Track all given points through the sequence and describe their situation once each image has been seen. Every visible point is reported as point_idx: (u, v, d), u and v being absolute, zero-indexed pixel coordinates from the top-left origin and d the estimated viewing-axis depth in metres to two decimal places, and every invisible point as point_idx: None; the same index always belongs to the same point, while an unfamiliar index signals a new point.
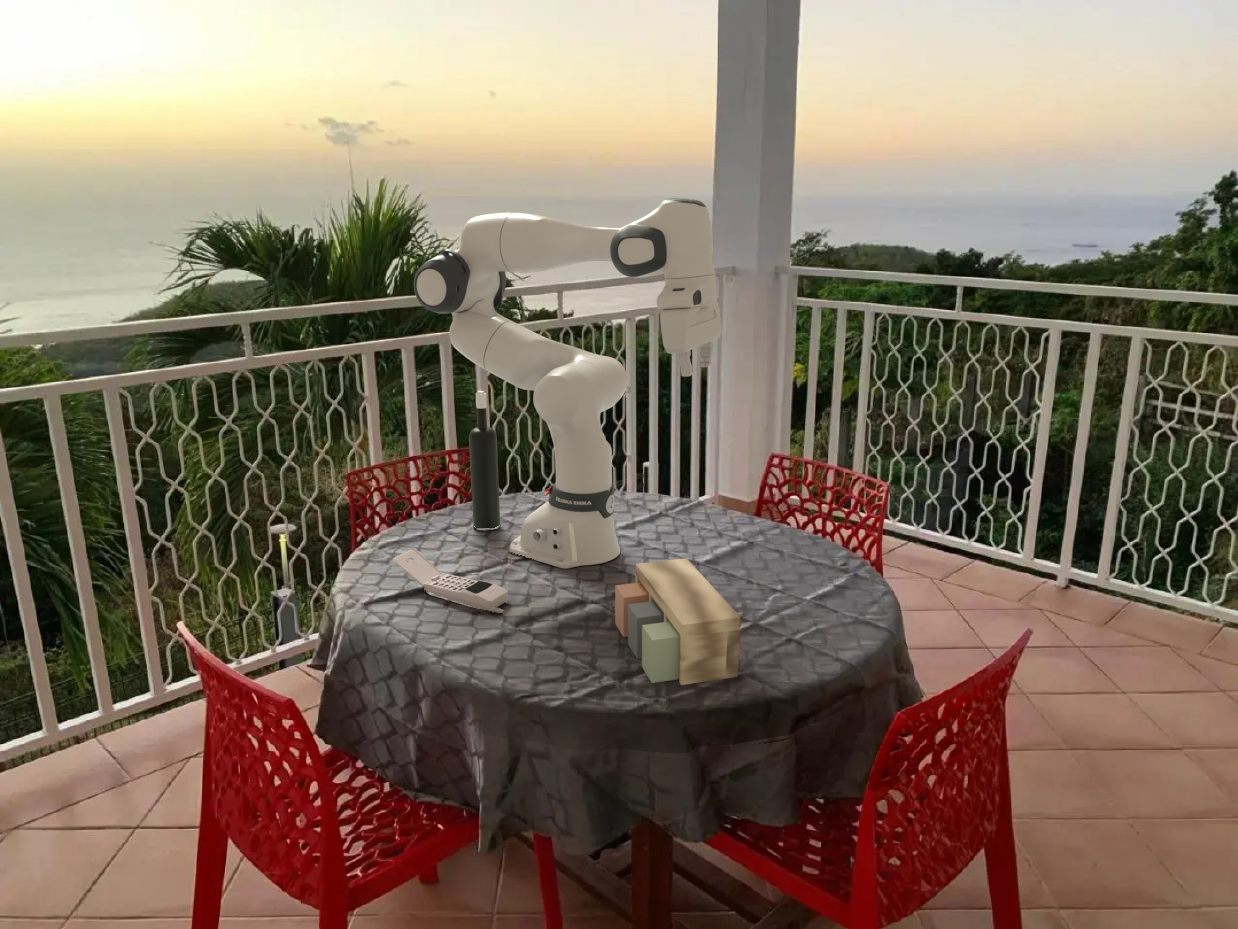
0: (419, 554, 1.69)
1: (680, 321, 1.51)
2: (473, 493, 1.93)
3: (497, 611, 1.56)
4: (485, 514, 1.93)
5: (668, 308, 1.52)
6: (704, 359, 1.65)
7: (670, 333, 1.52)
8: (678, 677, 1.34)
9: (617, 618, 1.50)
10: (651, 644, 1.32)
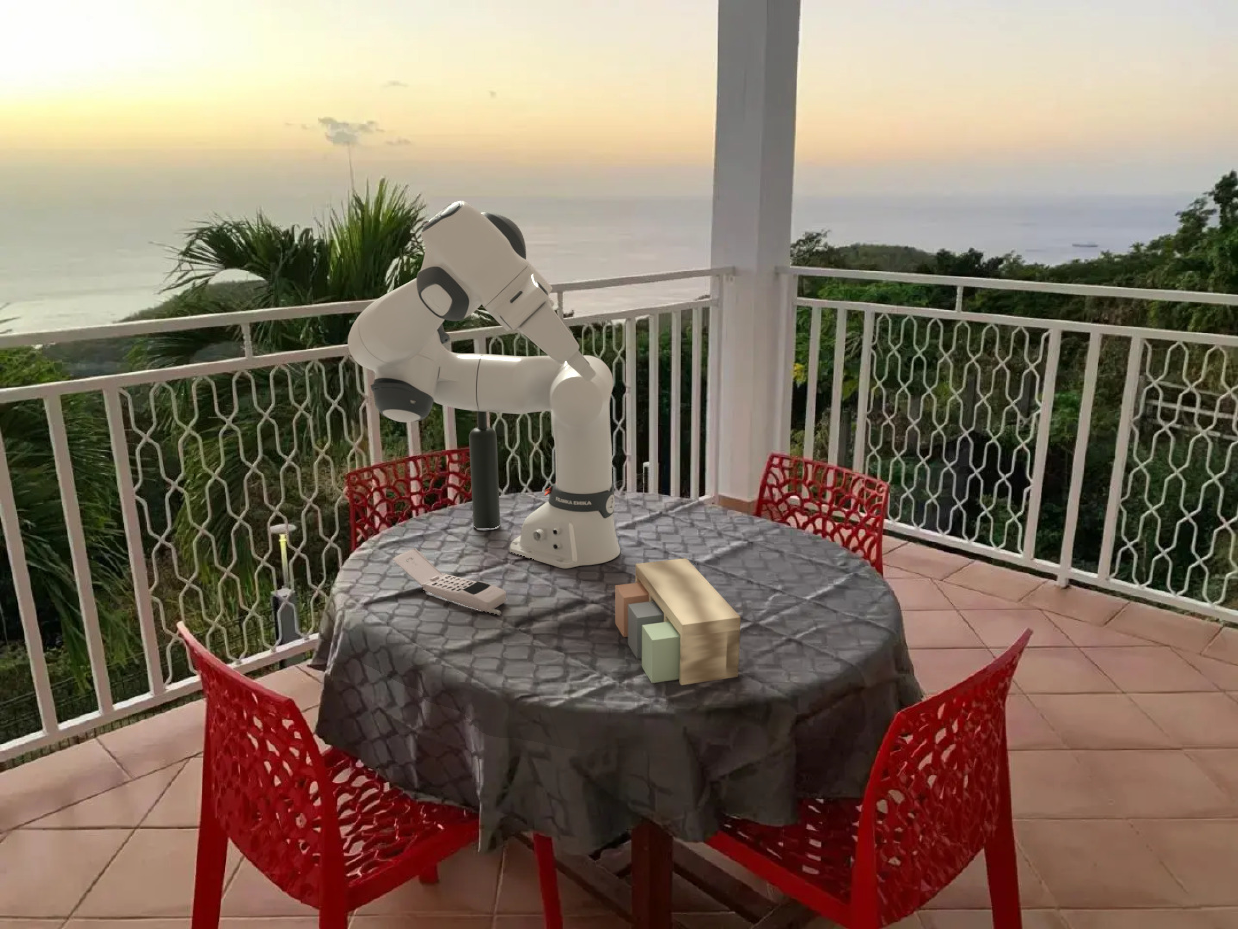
0: (419, 554, 1.69)
1: (550, 319, 1.17)
2: (473, 493, 1.93)
3: (494, 612, 1.55)
4: (485, 514, 1.93)
5: (525, 319, 1.18)
6: None
7: (551, 340, 1.18)
8: (678, 677, 1.34)
9: (617, 618, 1.50)
10: (651, 644, 1.32)
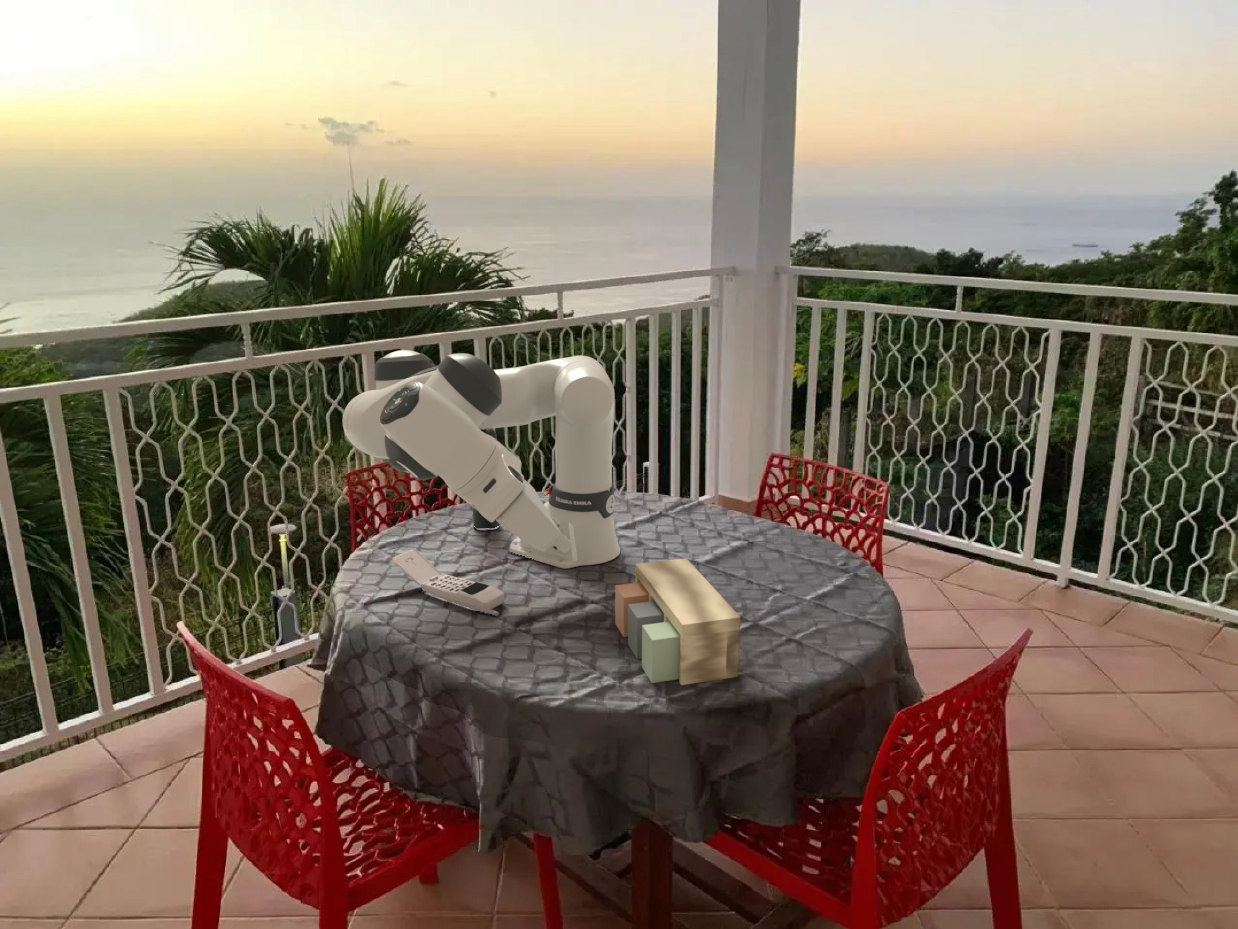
0: (419, 554, 1.69)
1: (530, 510, 1.13)
2: None
3: (492, 613, 1.55)
4: None
5: (503, 511, 1.13)
6: None
7: (532, 531, 1.13)
8: (678, 677, 1.34)
9: (617, 618, 1.50)
10: (651, 644, 1.32)
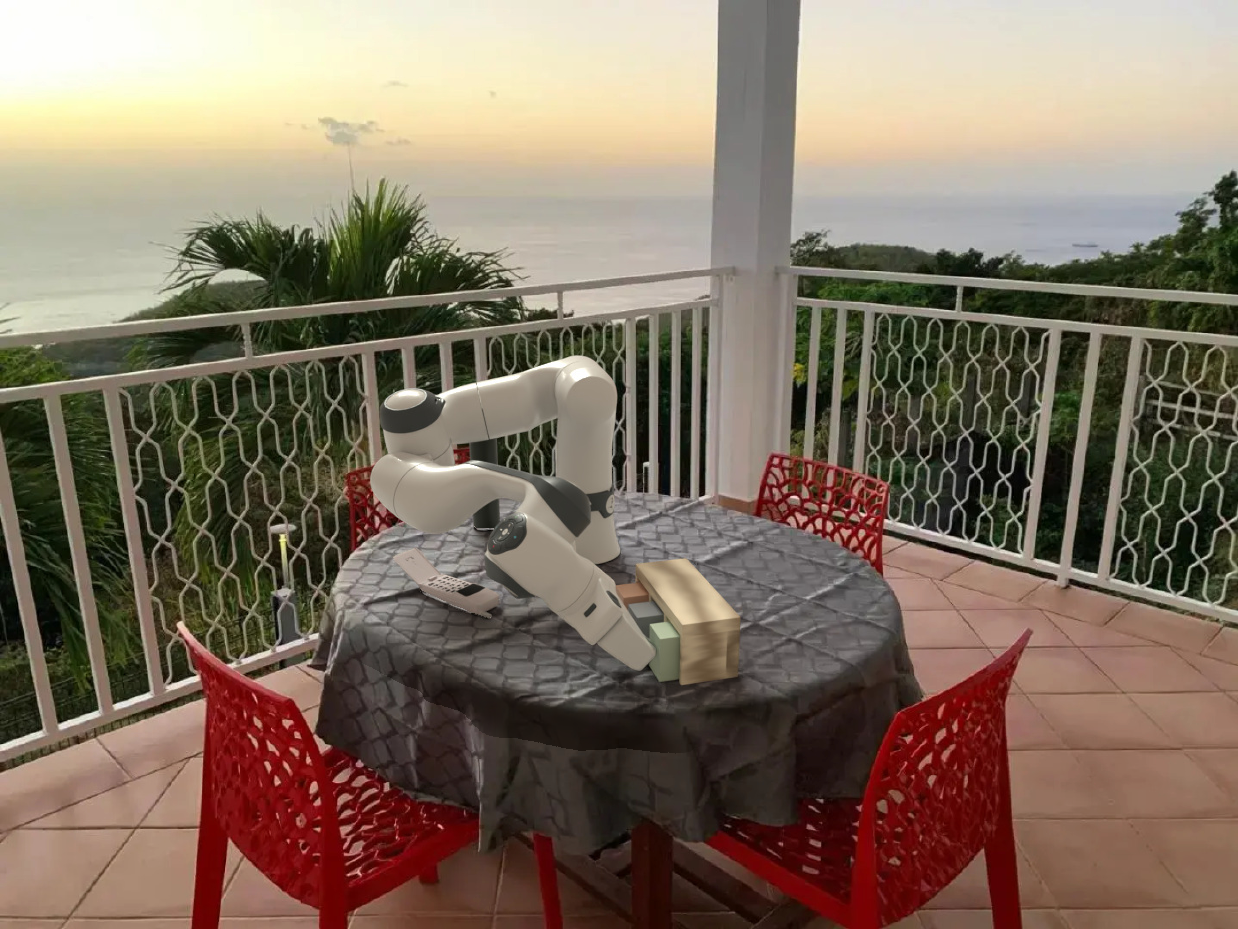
0: (420, 553, 1.70)
1: (629, 635, 1.22)
2: None
3: (485, 615, 1.54)
4: (485, 514, 1.93)
5: (603, 635, 1.22)
6: None
7: (630, 653, 1.22)
8: None
9: None
10: (659, 643, 1.32)
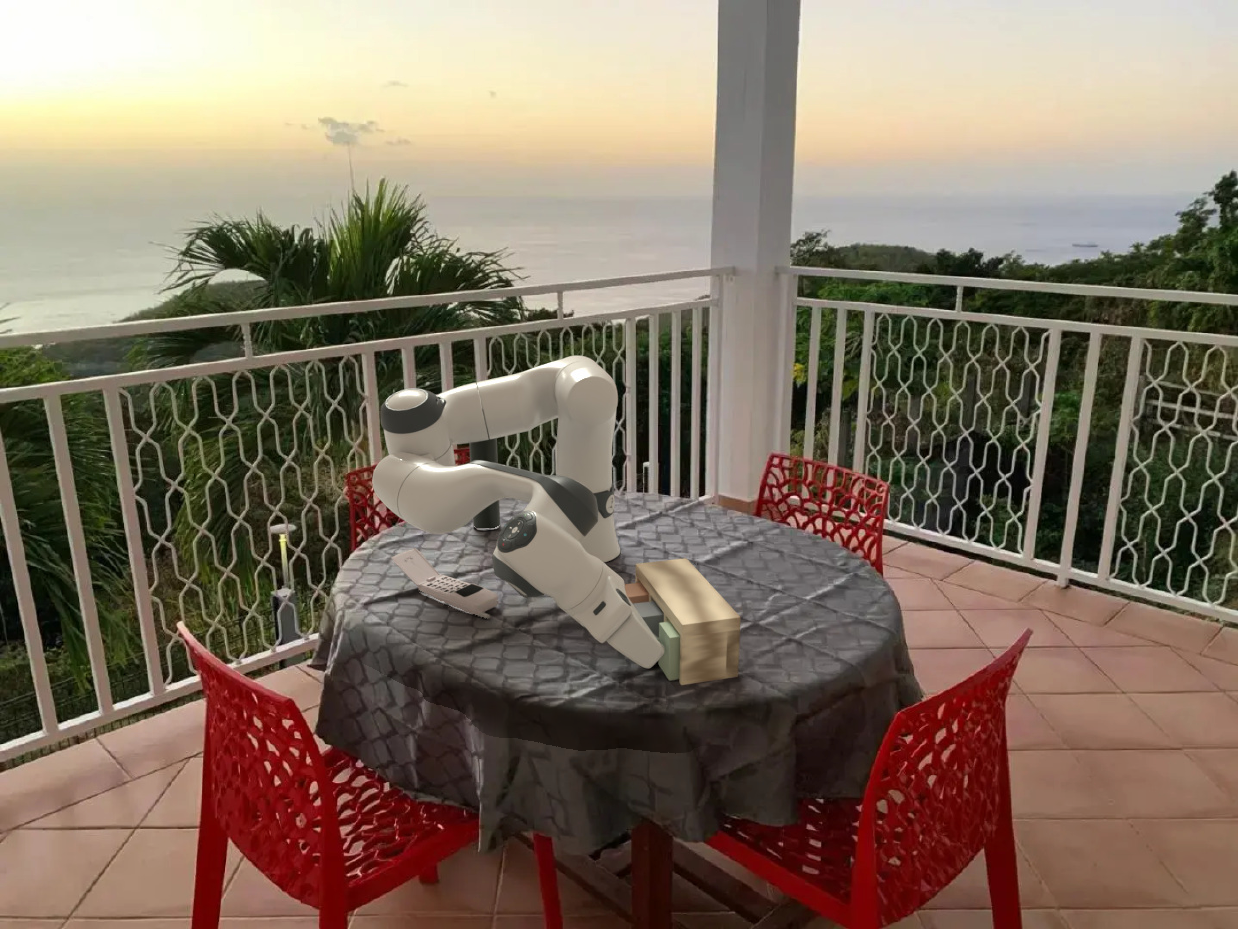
0: (419, 554, 1.69)
1: (638, 633, 1.22)
2: None
3: (483, 616, 1.54)
4: (485, 514, 1.93)
5: (613, 633, 1.22)
6: None
7: (640, 651, 1.23)
8: None
9: None
10: (668, 641, 1.33)
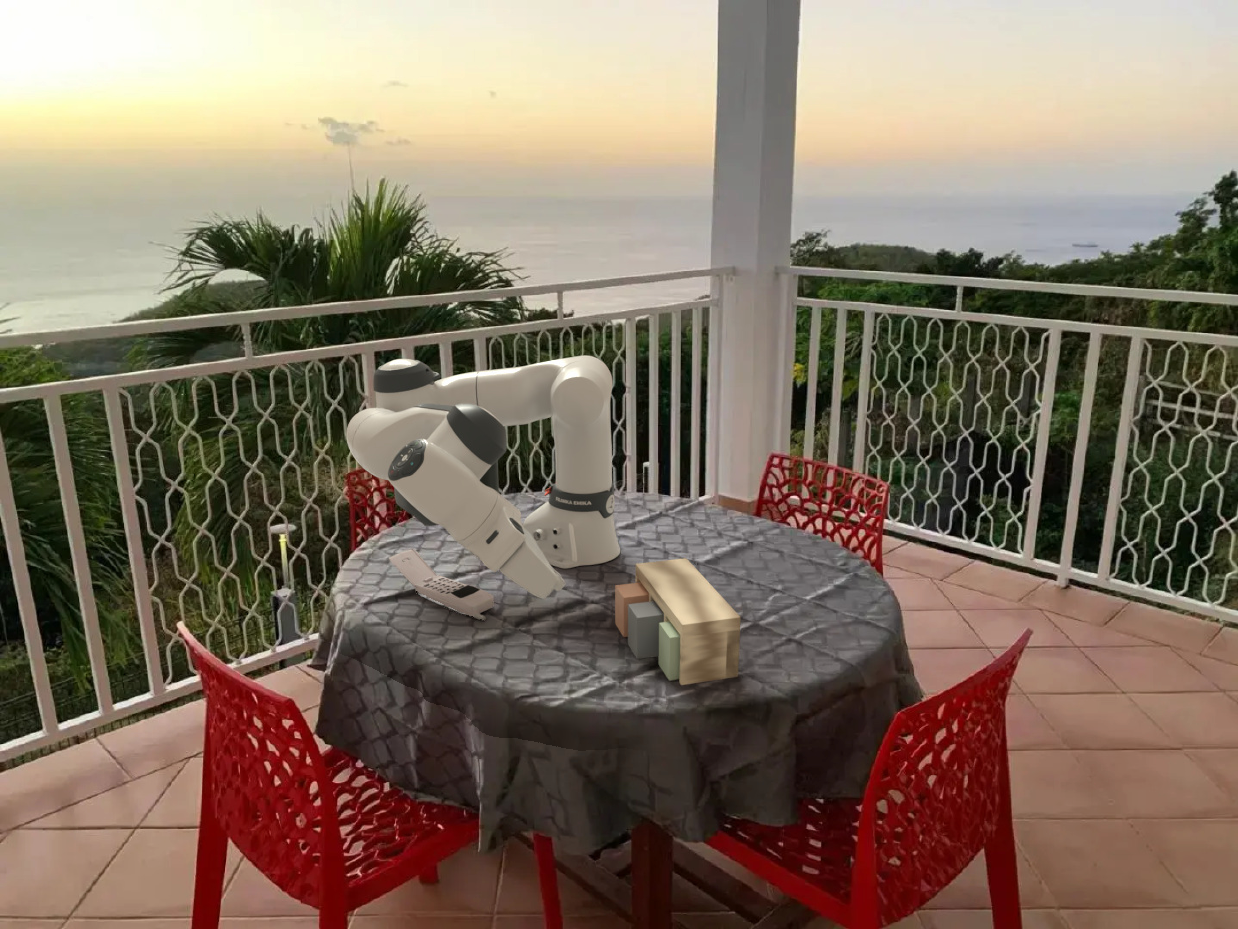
0: (417, 554, 1.69)
1: (531, 561, 1.20)
2: None
3: (478, 617, 1.53)
4: None
5: (505, 562, 1.20)
6: None
7: (533, 580, 1.20)
8: None
9: (617, 618, 1.50)
10: (668, 641, 1.33)
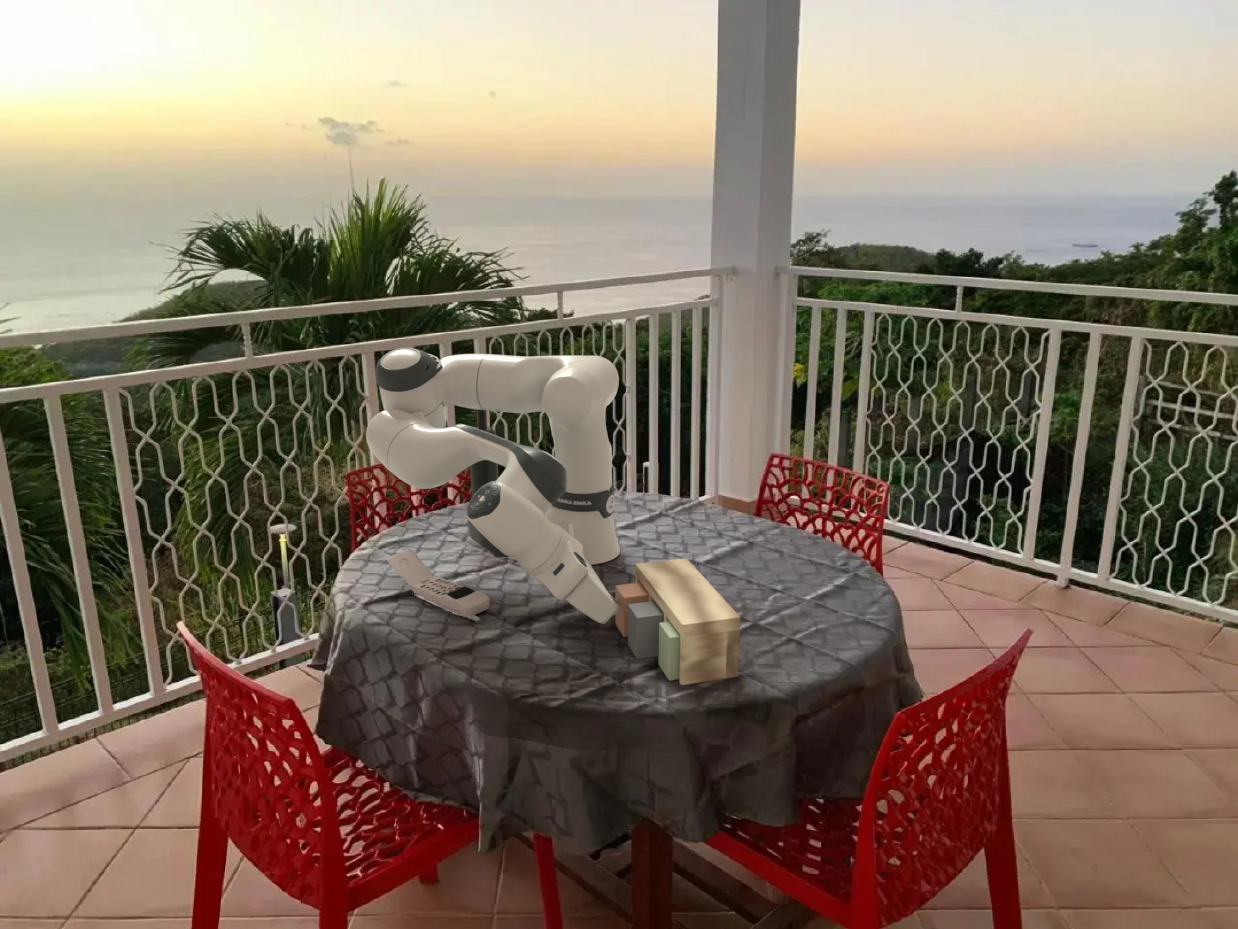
0: (414, 555, 1.69)
1: (593, 591, 1.35)
2: (473, 493, 1.93)
3: (473, 619, 1.53)
4: None
5: (570, 591, 1.36)
6: None
7: (595, 608, 1.36)
8: None
9: (617, 618, 1.50)
10: (668, 641, 1.33)
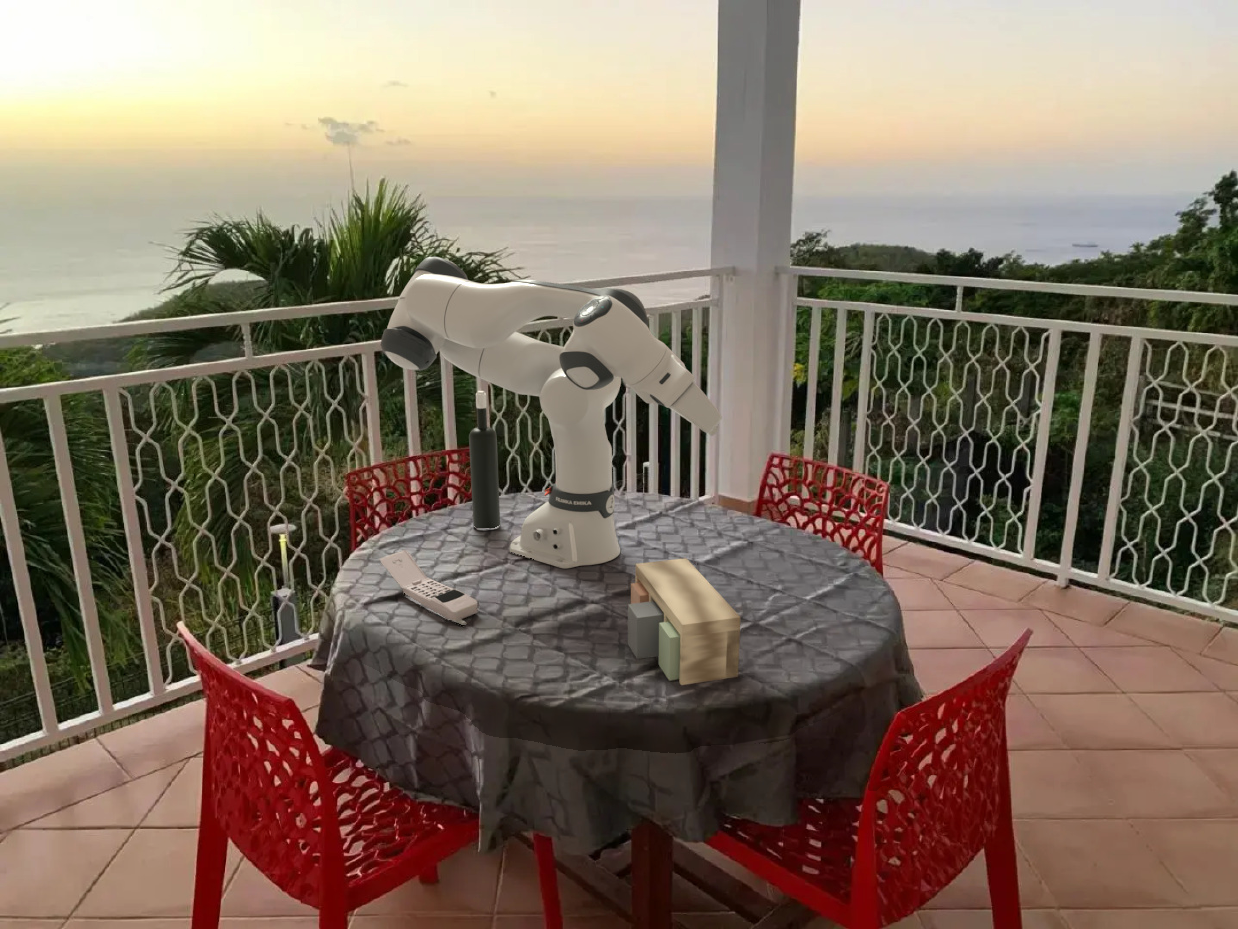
0: (409, 556, 1.68)
1: (700, 397, 1.39)
2: (473, 493, 1.93)
3: (459, 623, 1.51)
4: (485, 514, 1.93)
5: (677, 398, 1.39)
6: None
7: (701, 414, 1.39)
8: None
9: None
10: (668, 641, 1.33)
